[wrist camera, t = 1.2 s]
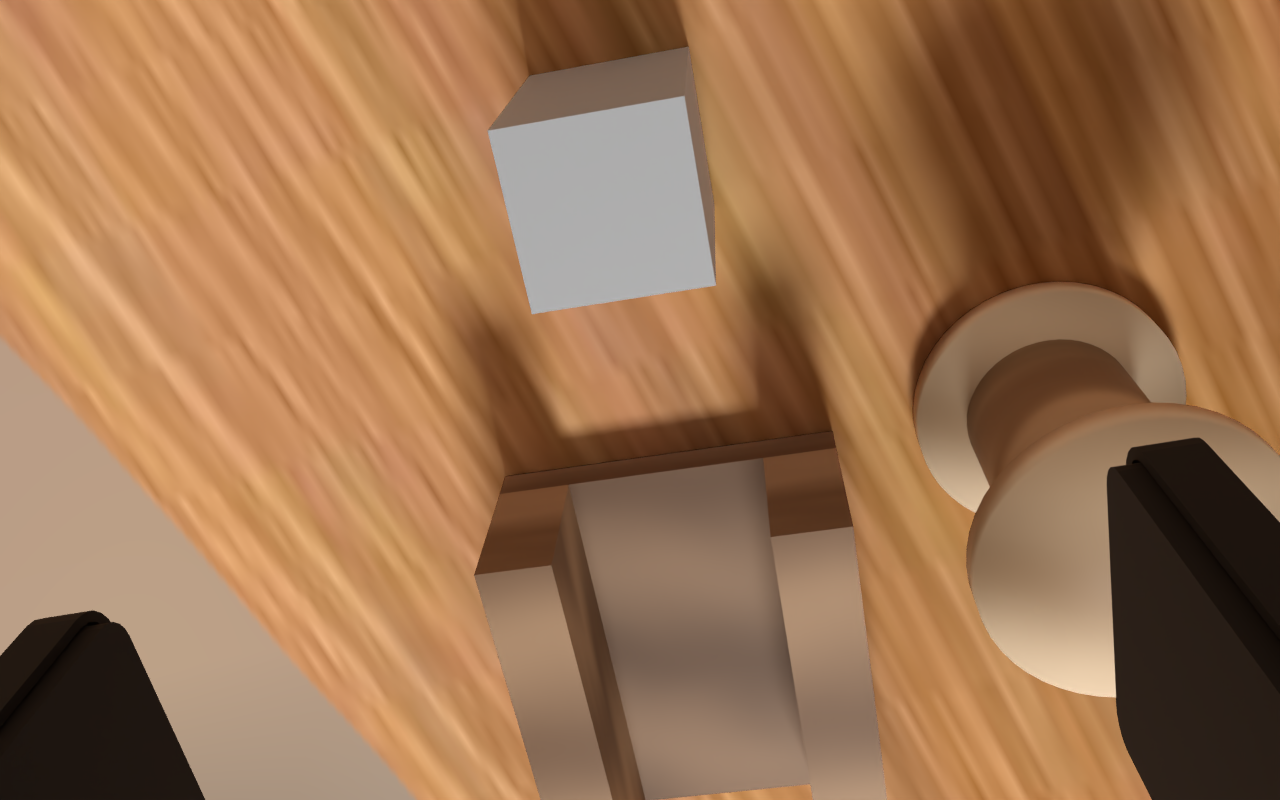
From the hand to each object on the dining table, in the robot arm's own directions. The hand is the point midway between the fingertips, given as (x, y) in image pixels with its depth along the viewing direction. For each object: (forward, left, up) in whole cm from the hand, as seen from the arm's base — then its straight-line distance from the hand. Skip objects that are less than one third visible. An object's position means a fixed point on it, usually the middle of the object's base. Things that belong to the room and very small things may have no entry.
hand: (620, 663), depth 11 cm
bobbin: (+9, +9, -20) cm, 24 cm away
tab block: (0, -1, -20) cm, 20 cm away
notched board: (+15, -2, -20) cm, 25 cm away
